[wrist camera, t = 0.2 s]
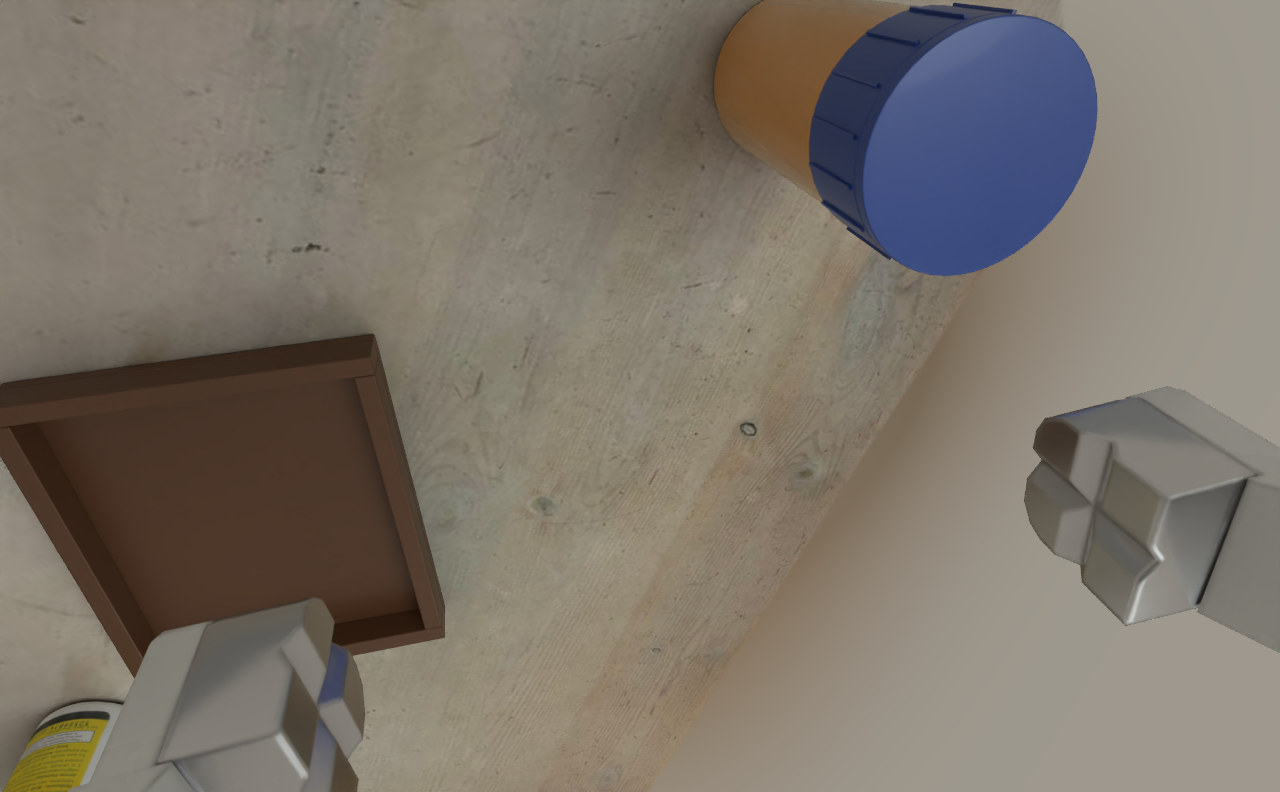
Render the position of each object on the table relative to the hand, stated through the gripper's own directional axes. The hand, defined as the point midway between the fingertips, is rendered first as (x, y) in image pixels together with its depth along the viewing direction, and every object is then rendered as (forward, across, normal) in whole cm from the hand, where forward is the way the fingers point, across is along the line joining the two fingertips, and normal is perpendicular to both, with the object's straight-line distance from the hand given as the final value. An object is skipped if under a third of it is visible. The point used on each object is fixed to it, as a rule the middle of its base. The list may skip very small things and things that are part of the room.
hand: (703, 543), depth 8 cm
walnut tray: (+23, +15, +14) cm, 31 cm away
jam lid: (+14, -10, 0) cm, 17 cm away
